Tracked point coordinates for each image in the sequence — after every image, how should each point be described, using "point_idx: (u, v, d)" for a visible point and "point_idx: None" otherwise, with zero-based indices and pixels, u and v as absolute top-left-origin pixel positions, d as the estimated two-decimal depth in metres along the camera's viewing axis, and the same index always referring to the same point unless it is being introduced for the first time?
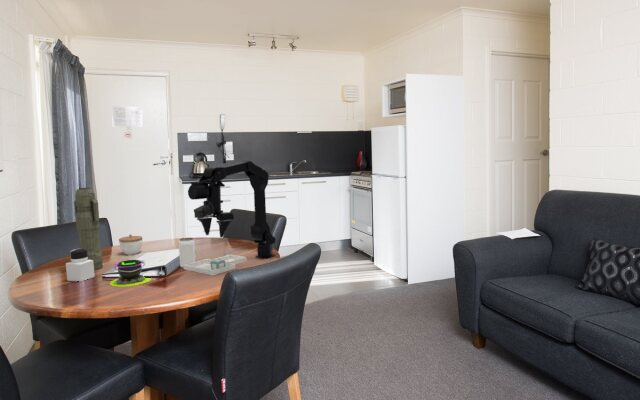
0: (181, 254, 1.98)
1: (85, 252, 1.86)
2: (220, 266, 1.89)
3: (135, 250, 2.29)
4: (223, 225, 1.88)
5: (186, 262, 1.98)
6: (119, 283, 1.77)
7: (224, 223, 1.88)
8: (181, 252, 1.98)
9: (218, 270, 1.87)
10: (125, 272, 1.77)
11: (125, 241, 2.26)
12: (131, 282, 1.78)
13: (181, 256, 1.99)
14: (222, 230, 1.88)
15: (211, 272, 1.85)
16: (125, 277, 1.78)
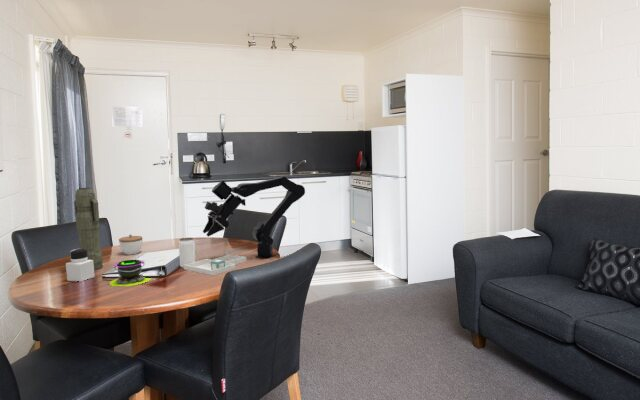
0: (181, 254, 1.98)
1: (85, 252, 1.86)
2: (220, 266, 1.89)
3: (135, 250, 2.29)
4: (215, 227, 1.99)
5: (186, 262, 1.98)
6: (119, 283, 1.78)
7: (217, 226, 1.99)
8: (181, 252, 1.98)
9: (218, 270, 1.87)
10: (125, 272, 1.77)
11: (125, 241, 2.26)
12: (131, 282, 1.78)
13: (181, 256, 1.99)
14: (211, 230, 1.99)
15: (211, 272, 1.85)
16: (125, 277, 1.79)
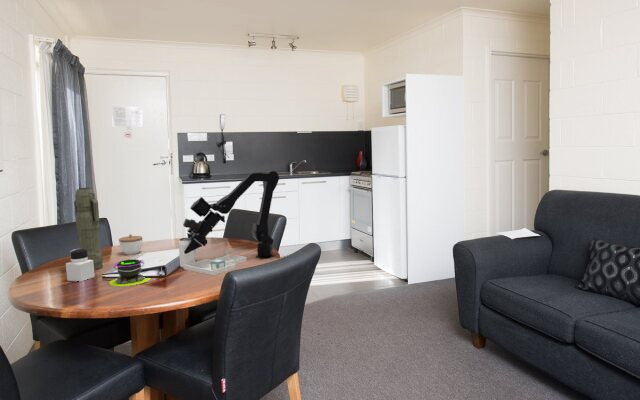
0: (181, 254, 1.98)
1: (85, 252, 1.86)
2: (220, 266, 1.89)
3: (135, 250, 2.29)
4: (193, 244, 1.97)
5: (186, 262, 1.98)
6: (118, 283, 1.78)
7: (195, 244, 1.98)
8: (181, 252, 1.98)
9: (218, 270, 1.87)
10: (124, 272, 1.78)
11: (125, 241, 2.26)
12: (130, 282, 1.79)
13: (181, 256, 1.99)
14: (188, 247, 1.97)
15: (211, 272, 1.85)
16: (124, 277, 1.79)
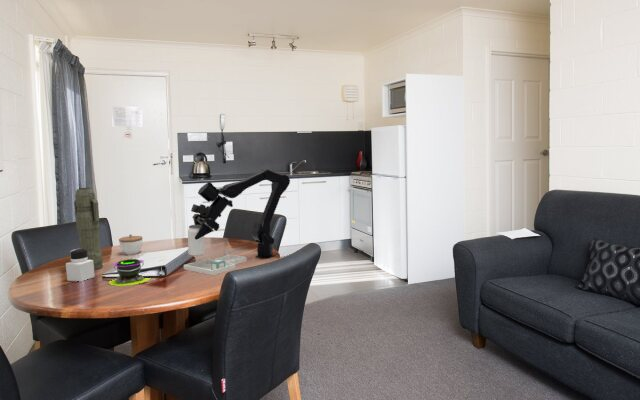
0: (191, 242, 1.95)
1: (85, 252, 1.86)
2: (220, 266, 1.89)
3: (135, 250, 2.29)
4: (204, 230, 1.94)
5: (196, 250, 1.95)
6: (118, 282, 1.78)
7: (206, 229, 1.95)
8: (191, 240, 1.95)
9: (218, 270, 1.87)
10: (124, 271, 1.78)
11: (125, 241, 2.26)
12: (130, 281, 1.79)
13: (191, 244, 1.95)
14: (199, 232, 1.93)
15: (211, 272, 1.85)
16: (124, 276, 1.80)
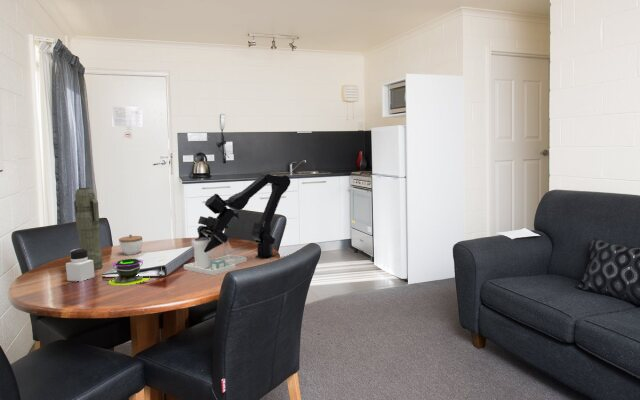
0: (198, 255, 1.94)
1: (85, 252, 1.86)
2: (220, 266, 1.89)
3: (135, 250, 2.29)
4: (213, 242, 1.92)
5: (204, 262, 1.94)
6: (117, 282, 1.79)
7: (215, 242, 1.93)
8: (198, 252, 1.94)
9: (218, 270, 1.87)
10: (123, 271, 1.79)
11: (125, 241, 2.26)
12: (129, 281, 1.80)
13: (198, 257, 1.94)
14: (209, 245, 1.91)
15: (211, 272, 1.85)
16: (123, 276, 1.80)
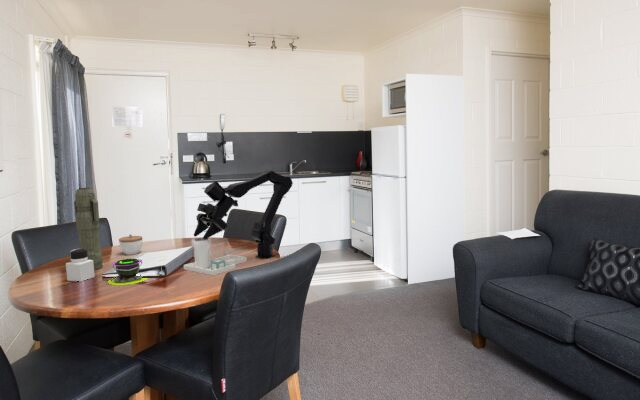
0: (198, 255, 1.94)
1: (85, 252, 1.86)
2: (220, 266, 1.89)
3: (135, 250, 2.29)
4: (212, 230, 1.92)
5: (204, 262, 1.94)
6: (117, 282, 1.79)
7: (214, 229, 1.92)
8: (198, 253, 1.94)
9: (218, 270, 1.87)
10: (123, 271, 1.79)
11: (125, 241, 2.26)
12: (129, 281, 1.80)
13: (198, 257, 1.94)
14: (208, 232, 1.91)
15: (211, 272, 1.85)
16: (123, 276, 1.81)
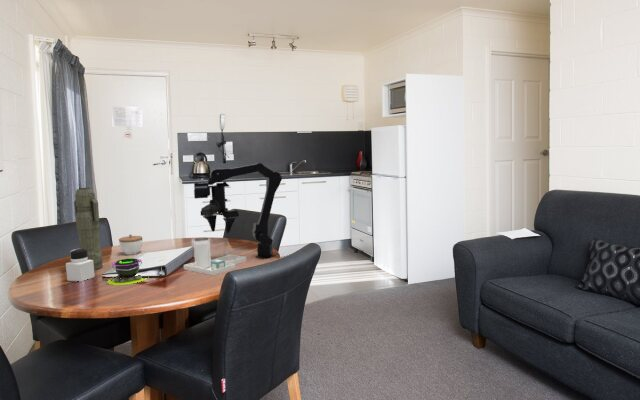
0: (198, 255, 1.94)
1: (85, 252, 1.86)
2: (220, 266, 1.89)
3: (135, 250, 2.29)
4: (229, 222, 2.04)
5: (204, 262, 1.94)
6: (117, 281, 1.80)
7: (230, 220, 2.05)
8: (198, 253, 1.94)
9: (218, 270, 1.87)
10: (123, 270, 1.80)
11: (125, 241, 2.26)
12: (128, 280, 1.81)
13: (198, 257, 1.94)
14: (228, 226, 2.04)
15: (211, 272, 1.85)
16: (123, 275, 1.81)
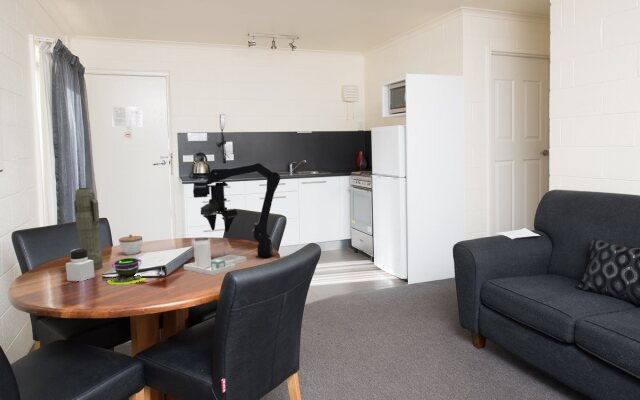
0: (198, 255, 1.94)
1: (85, 252, 1.86)
2: (220, 266, 1.89)
3: (135, 250, 2.29)
4: (228, 221, 2.07)
5: (204, 262, 1.94)
6: (116, 281, 1.80)
7: (229, 219, 2.07)
8: (198, 253, 1.94)
9: (218, 270, 1.87)
10: (122, 270, 1.80)
11: (125, 241, 2.26)
12: (128, 280, 1.81)
13: (198, 257, 1.94)
14: (227, 225, 2.07)
15: (211, 272, 1.85)
16: (122, 275, 1.81)
